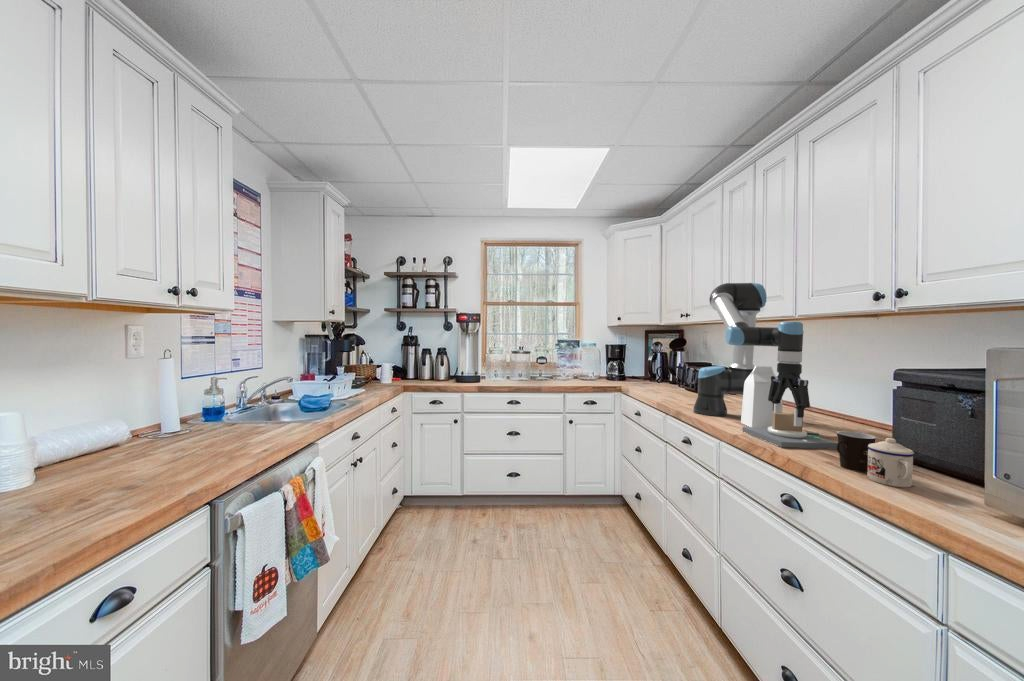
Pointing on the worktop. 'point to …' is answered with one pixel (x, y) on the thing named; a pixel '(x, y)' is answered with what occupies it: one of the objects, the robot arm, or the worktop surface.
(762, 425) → the milk
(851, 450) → the coffee mug
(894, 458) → the teacup with lid
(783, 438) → the dial board
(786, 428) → the dial
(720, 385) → the robot arm
